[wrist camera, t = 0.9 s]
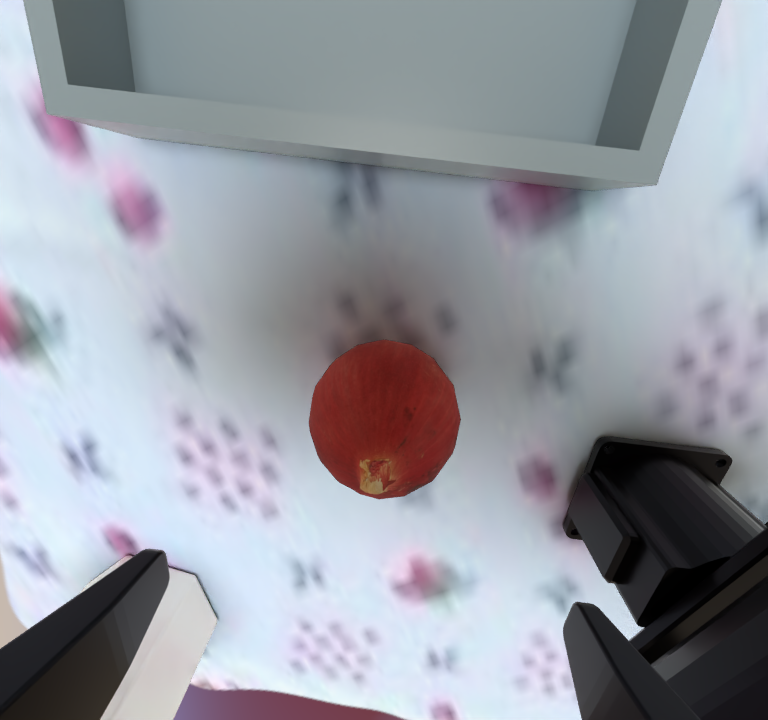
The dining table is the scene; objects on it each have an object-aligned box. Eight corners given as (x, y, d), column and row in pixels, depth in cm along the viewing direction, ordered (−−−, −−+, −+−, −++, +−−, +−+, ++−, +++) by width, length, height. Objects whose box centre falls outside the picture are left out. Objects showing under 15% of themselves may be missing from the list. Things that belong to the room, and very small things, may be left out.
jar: (87, 617, 26) (-142, 911, 15) (93, 541, 23) (-186, 839, 12) (208, 651, 27) (74, 954, 16) (230, 582, 24) (82, 897, 13)
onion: (470, 391, 18) (516, 518, 11) (375, 444, 20) (357, 589, 12) (404, 294, 16) (405, 365, 9) (305, 360, 18) (236, 468, 10)
